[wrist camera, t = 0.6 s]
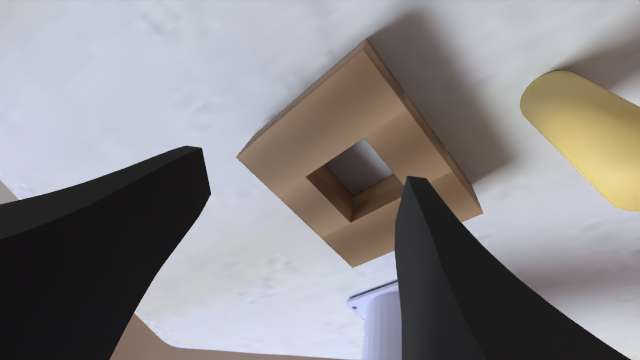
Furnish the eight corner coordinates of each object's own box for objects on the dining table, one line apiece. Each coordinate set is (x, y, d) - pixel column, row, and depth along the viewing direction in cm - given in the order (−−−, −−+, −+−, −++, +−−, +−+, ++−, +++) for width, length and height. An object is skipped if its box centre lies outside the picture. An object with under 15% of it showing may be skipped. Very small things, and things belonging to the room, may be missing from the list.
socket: (471, 184, 21) (483, 213, 18) (355, 239, 25) (352, 267, 23) (366, 38, 17) (362, 49, 14) (252, 136, 21) (236, 157, 19)
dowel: (592, 102, 16) (728, 186, 10) (533, 132, 18) (618, 223, 11) (571, 58, 15) (707, 119, 9) (510, 93, 17) (589, 168, 10)
